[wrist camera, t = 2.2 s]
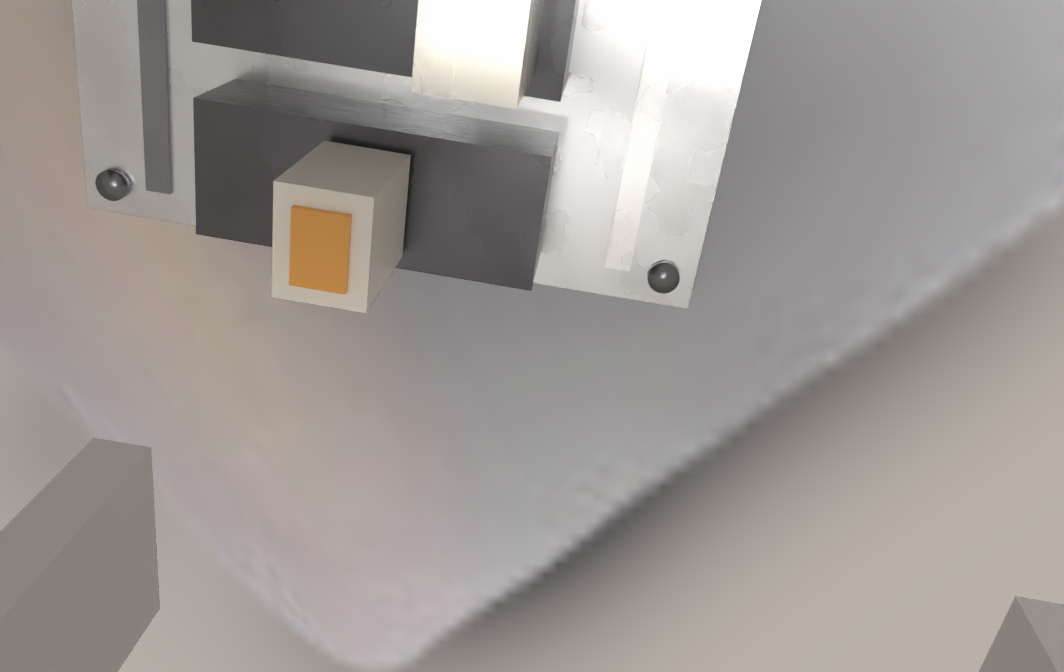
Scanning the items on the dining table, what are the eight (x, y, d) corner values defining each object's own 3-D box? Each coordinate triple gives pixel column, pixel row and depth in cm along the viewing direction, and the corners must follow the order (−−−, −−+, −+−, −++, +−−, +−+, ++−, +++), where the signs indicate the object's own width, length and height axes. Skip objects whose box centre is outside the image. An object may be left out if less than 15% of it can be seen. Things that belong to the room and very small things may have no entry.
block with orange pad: (320, 242, 26) (269, 300, 22) (324, 140, 25) (270, 183, 21) (402, 256, 26) (364, 316, 22) (410, 154, 25) (372, 200, 21)
